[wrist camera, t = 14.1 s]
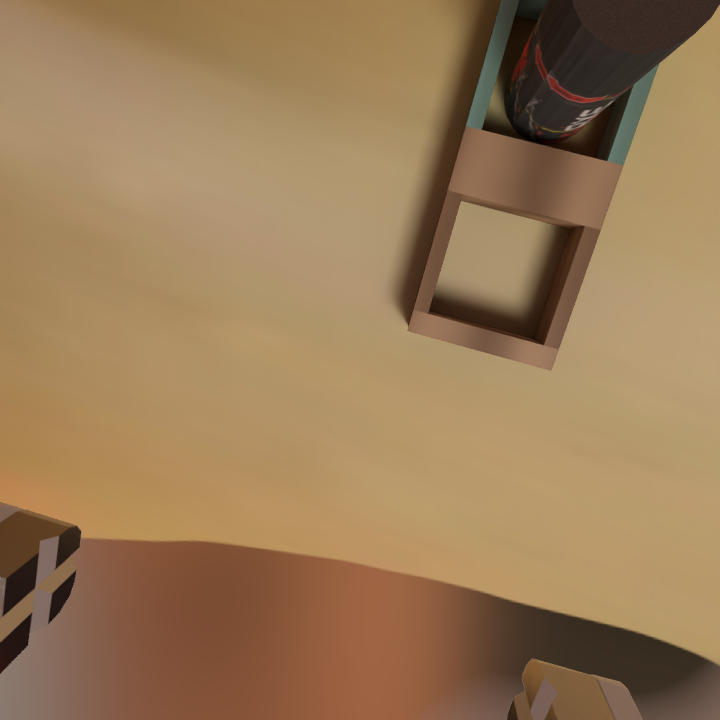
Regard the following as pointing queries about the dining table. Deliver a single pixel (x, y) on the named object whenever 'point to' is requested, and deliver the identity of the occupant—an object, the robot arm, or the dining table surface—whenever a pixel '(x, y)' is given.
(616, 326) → the dining table surface
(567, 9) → the deodorant
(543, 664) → the robot arm
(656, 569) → the dining table surface
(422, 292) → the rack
